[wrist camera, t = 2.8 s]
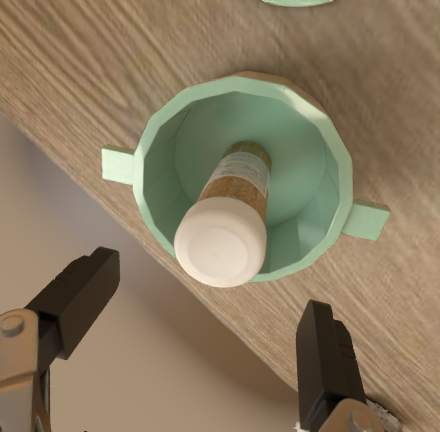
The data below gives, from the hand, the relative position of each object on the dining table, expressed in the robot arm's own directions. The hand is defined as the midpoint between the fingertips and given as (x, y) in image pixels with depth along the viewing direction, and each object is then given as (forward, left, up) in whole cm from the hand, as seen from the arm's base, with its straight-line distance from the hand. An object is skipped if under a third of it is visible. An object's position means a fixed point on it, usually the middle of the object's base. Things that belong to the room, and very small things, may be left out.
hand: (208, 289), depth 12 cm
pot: (0, 0, -16) cm, 16 cm away
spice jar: (0, 0, -16) cm, 16 cm away
